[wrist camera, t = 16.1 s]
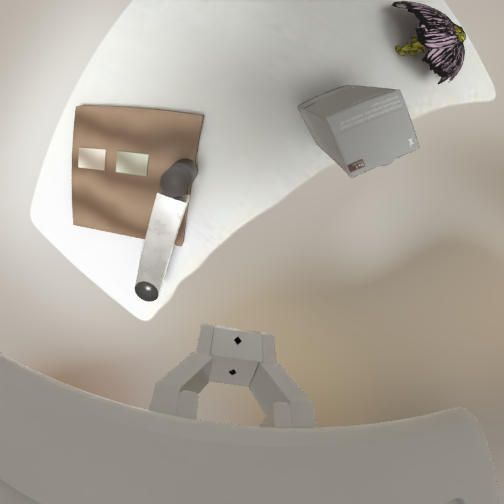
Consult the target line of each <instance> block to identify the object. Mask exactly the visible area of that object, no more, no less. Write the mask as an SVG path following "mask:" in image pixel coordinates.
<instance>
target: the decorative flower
mask: <svg viewBox="0 0 504 504" xmlns="http://www.w3.org/2000/svg"><path fill="white" fill-rule="evenodd" d="M392 5H393V6H394V7H399V8H406V9H408V12H411V13H414V14H415V16H416V17H417V19H419V20H420V23H419V27H418V28H415V29H416V33H417V37H418V39H419V42H418V39H417V38H415V37H413V38H412V39H411V41H412V43H413V44H411V43H407V44H406V46H405V47H403V48H401V47H400V46H396V48H395V49H396V51H397V52H399V54H400V55H401V56H404V55H405V54H406V52H405V51H407V50H409V51H408V53H409V54H410V55H411V56H414V55H415V51H414V50H416V49H417V52H419V53H420V54H421V53H423V52H424V50H423V47H427V48H431V50H429V51H428V52H427V54H426V55H425V57H424V58H423V60H422V61H424V62H426V63H427V64H429V66H430V70H433V71H434V73H435V74H436V73H437V74H438V75H439V76H441V77H442V78H441V80H440V81H439V82H438V84H440V83H442V82H444V81H445V80H447V79H448V78H449V77H450V76H451V78H450V81H451V80H453V78H454V77H455V76H456V75H457V74H458V72H459V71H460V69H461V67H462V64H463V61H464V54H465V50H464V45H463V42H464V40H465V38H466V35H465V32H464V31H463V28H462V27H460V26H458V25H456V24H454V23H453V22H452V21H451V20H450V19H449V18H448V17H447V16H446V15H445V14H443V13H442V12H440V11H438V10H436V9H434V8H431V7H429V6H427V5H424V4H420V3H415V2H407V1H401V2H394V3H393V4H392ZM450 81H449V82H450ZM449 82H448V83H449Z"/></svg>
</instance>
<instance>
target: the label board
mask: <svg viewBox="0 0 504 504" xmlns="http://www.w3.org/2000/svg"><path fill="white" fill-rule="evenodd" d="M203 118H204V115H197V114H191V113H183V112H176V111H167V110H158V109H147V108H134V107H118V106H76V111H75V121H74V132H73V148H72V208H73V225H77V226H82V227H87V228H92V229H97V230H102V231H106V232H111V233H116V234H121V235H126V236H131V237H136V238H141V239H145V238H146V234H147V230H148V226H149V222H150V218H151V214H152V210H153V206H154V203H155V199H156V196H157V193H158V192H159V191H160V189H162V190H163V192H164V193H165V194H167V195H168V196H171V197H180V196H182V195H183V194H187V195H190V190H191V184H192V182H193V181H194V179H195V178H196V176H197V173H198V169H197V166H196V164H195V160H196V154H197V149H198V144H199V138H200V133H201V128H202V123H203ZM188 204H189V201H188ZM188 204H187V207H186V210H185V213H184V216H183V219H182V222H181V225H180V228H179V231H178V234H177V238H176V241H175V244H174V245H177V246H182V244H183V241H184V233H185V225H186V218H187V211H188Z"/></svg>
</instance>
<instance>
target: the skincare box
mask: <svg viewBox="0 0 504 504" xmlns="http://www.w3.org/2000/svg"><path fill="white" fill-rule="evenodd" d="M298 109H299V111H300V113H301V115H302V117H303V119H304V121H305V122H306V124H307V126H308V128H309V130H310V132H311V134H312V136H313V138H314V140H315V142H316V144H317V145H318V146H319V147H320V148H321V149H322V150H323V151H324V152H326V153H327V154H328V155H329V156H330V157H331V158H332V159H333V160H334V161H335V162H336V163H337V164H338V165H339V166H340V167H341V168H342V169H343V170H344V171H345V172H346V173H347V174H348V175H349V176H350V177H351V178H353V177H356V176H358V175H360V174H362V173H364V172H367V171H369V170H371V169H373V168H375V167H377V166H386V165H389V164H390V163H392V162H393V161H394V159H396V158H399V157H401V156H403V155H406V154H408V153H410V152H412V151H415V150H417V149H419V143H418V140H417V137H416V134H415V130H414V127H413V125H412V121H411V118H410V116H409V113H408V110H407V107H406V104H405V101H404V99H403V96H402V94H401V91H400V90H396V89H387V88H377V87H365V86H350V85H345V86H343V87H340V88H337V89H334V90H332V91H329V92H327V93H324V94H322V95H319V96H317V97H315V98H313V99H311V100H309V101H307V102H305V103H303V104H301V105H299V106H298Z"/></svg>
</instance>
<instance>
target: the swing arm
mask: <svg viewBox="0 0 504 504" xmlns="http://www.w3.org/2000/svg"><path fill="white" fill-rule="evenodd" d="M189 198H190V195H187V194H183V195H182V196H180V197H171V196H168V195H167V194H165V193H164V192H163V190H162V189H160V191H159V192H158V193H157V196H156V199H155V203H154V206H153V210H152V214H151V218H150V222H149V226H148V230H147V234H146V238H145V242H144V246H143V251H142V255H141V260H140V265H139V270H138V275H137V280H136V285H135V292H136V294H137V295H138V296H139V297H140V298H141V299H143V300H145V301H154V300H156V299H157V298H158V295H159V293H160V290H161V288H162V285H163V282H164V278H165V275H166V271H167V268H168V264H169V261H170V257H171V254H172V251H173V247H174V244H175V241H176V238H177V234H178V231H179V228H180V225H181V222H182V219H183V216H184V213H185V210H186V207H187V204H188V201H189Z"/></svg>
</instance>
